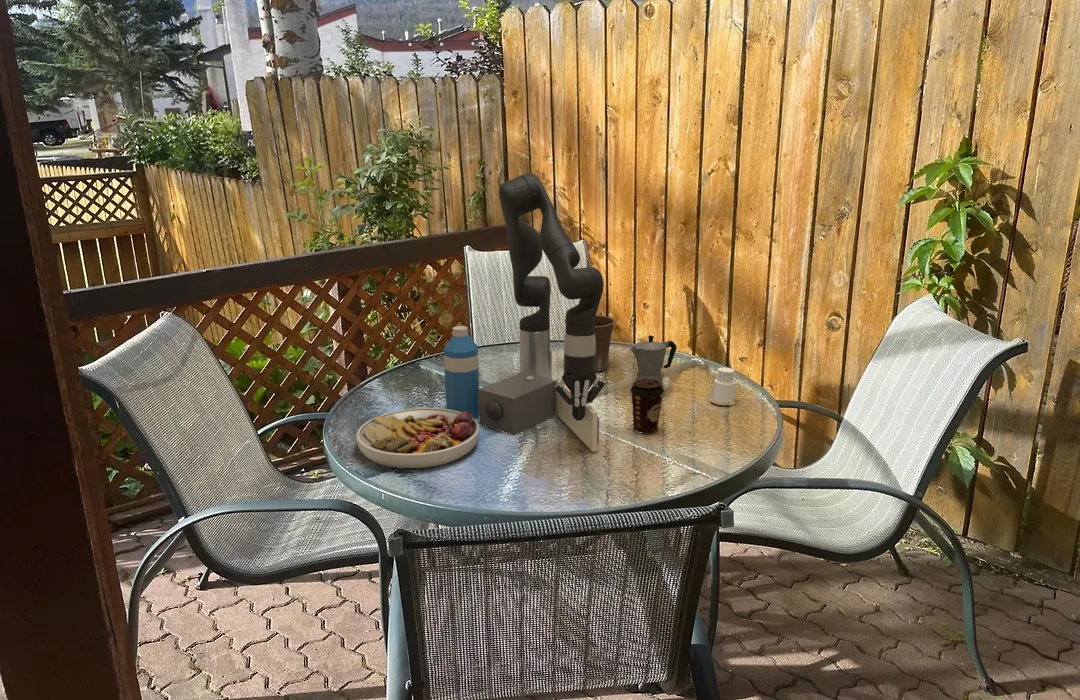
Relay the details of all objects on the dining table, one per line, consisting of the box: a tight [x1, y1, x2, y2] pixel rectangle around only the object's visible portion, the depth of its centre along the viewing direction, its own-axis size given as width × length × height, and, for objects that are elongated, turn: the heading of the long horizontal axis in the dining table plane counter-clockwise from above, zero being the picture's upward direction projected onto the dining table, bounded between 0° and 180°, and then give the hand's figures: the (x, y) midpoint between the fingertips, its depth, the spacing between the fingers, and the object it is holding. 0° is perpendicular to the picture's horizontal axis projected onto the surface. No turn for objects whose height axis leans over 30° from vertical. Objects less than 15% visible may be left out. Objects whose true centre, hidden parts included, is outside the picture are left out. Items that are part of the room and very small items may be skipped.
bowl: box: [356, 407, 480, 469], centre depth 190 cm, size 30×30×8 cm
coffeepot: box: [629, 335, 677, 395], centre depth 224 cm, size 15×9×18 cm, turn 113°
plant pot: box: [564, 314, 616, 373], centre depth 249 cm, size 16×16×16 cm
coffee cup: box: [630, 379, 665, 434], centre depth 199 cm, size 9×8×13 cm
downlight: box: [711, 367, 737, 402], centre depth 218 cm, size 8×7×10 cm
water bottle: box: [443, 325, 480, 420], centre depth 207 cm, size 9×9×25 cm
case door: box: [555, 378, 600, 453], centre depth 197 cm, size 27×2×10 cm, turn 18°
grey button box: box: [479, 372, 557, 436], centre depth 206 cm, size 19×12×11 cm, turn 141°
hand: (578, 419), depth 187 cm, fingers closed
